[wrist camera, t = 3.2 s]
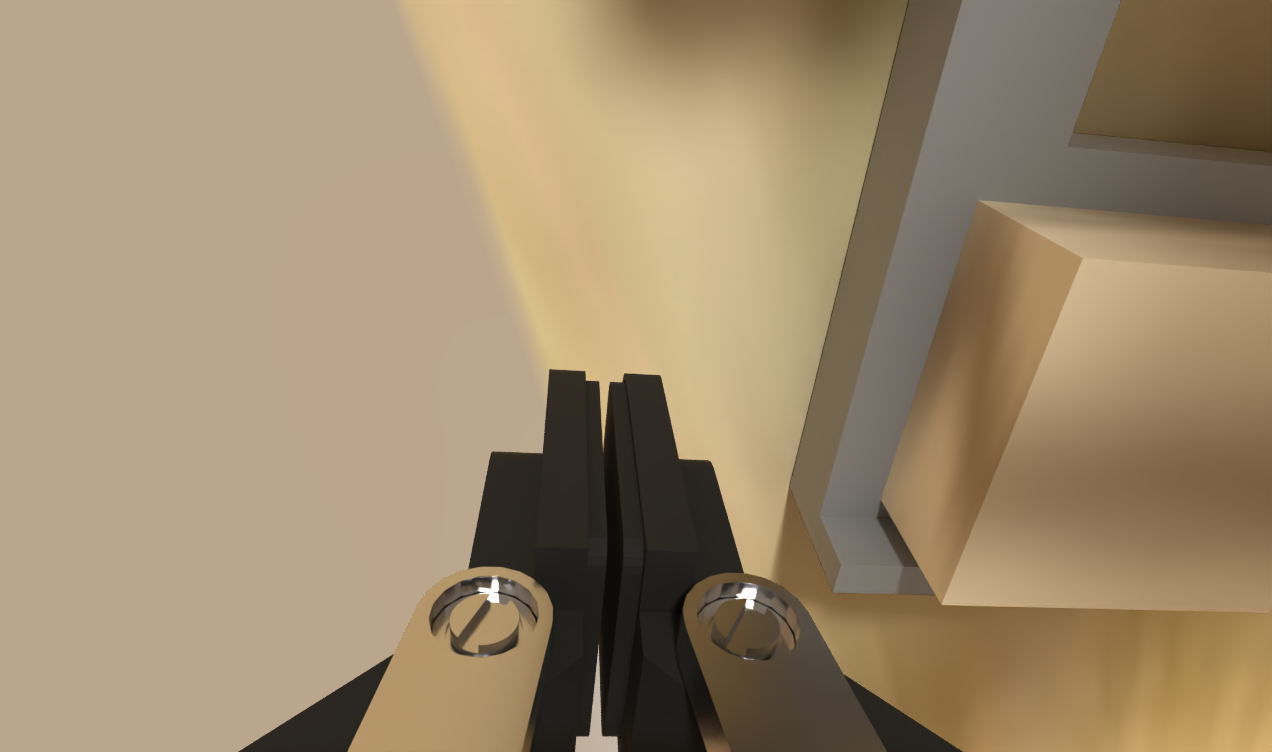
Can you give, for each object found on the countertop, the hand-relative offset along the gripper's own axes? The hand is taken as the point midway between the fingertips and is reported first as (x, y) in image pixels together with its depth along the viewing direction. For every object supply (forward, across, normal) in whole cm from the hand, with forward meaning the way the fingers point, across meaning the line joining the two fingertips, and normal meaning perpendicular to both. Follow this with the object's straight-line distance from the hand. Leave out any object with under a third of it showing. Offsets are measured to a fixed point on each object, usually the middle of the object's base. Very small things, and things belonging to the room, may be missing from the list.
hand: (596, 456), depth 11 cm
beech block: (+3, -10, 0) cm, 10 cm away
